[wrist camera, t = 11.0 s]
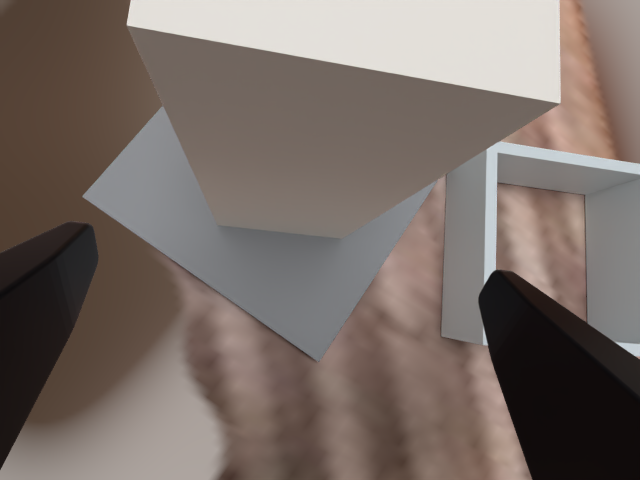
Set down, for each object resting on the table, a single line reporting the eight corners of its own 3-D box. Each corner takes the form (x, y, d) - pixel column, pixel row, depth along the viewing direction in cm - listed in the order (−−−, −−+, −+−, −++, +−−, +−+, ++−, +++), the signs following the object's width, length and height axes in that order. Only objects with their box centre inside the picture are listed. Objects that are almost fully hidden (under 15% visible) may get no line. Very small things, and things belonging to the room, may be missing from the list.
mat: (315, 359, 18) (318, 362, 17) (89, 201, 17) (82, 196, 16) (448, 156, 20) (456, 151, 20) (256, 11, 20) (256, -1, 19)
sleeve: (596, 347, 20) (666, 358, 17) (441, 336, 19) (482, 345, 16) (592, 187, 22) (657, 166, 18) (447, 165, 20) (486, 139, 17)
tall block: (342, 238, 18) (560, 103, 5) (217, 225, 17) (127, 25, 4) (350, 124, 19) (557, -228, 6) (232, 105, 18) (190, -347, 5)
